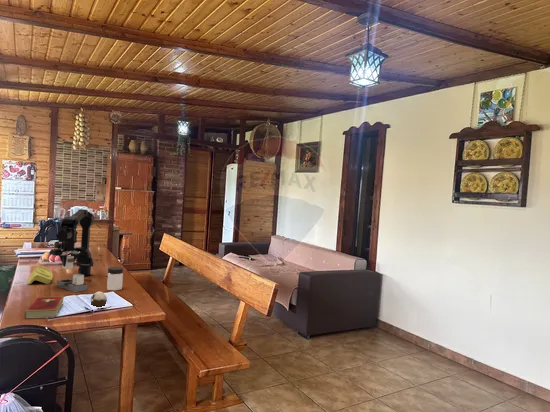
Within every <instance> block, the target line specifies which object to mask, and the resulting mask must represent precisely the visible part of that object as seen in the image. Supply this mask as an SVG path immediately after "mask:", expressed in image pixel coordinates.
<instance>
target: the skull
mask: <svg viewBox="0 0 550 412" xmlns="http://www.w3.org/2000/svg"><path fill="white" fill-rule="evenodd" d="M90 300H91V301H90V302H91V305H93V306H96V307H102V306H105V304H106V302H107V301H108V298H107V295H106V294H105V293H104V292H103V291H97V292H95V293H93V294H92V296H91V297H90ZM107 303H108V302H107Z"/></svg>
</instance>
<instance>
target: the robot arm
mask: <svg viewBox="0 0 550 412" xmlns="http://www.w3.org/2000/svg"><path fill="white" fill-rule="evenodd" d="M95 219H96V218H95V215H94V214H93V213H91V212H90V211H89V210H87V209H82V208H79V209H78V210H77V211H76V212H74V213H73V214H72V215H68V216H64V218H63V219H61V223H60V227H59V231H58V232H57V234H56V239H57V240H58V241H59V242H54V245H53V247H54V248H52V249H50V251H49V255H51V256H55V257H56V256H57V257H59V258H60V261H61V265H62V264H63V266H64V267H65V264H66V258H67V256H68V255H67V254H68V253H69V254H70V256H74V262H73V264H75V262H76V266H77V267H78V269H77V274H82V275H84V277H89V276H93V274H91V272H92V271H91V269H92V267H94V260H93V257H92V252H91V251H90V241H91V240H90V239H91V237H90V236H91V228H92V227H93V225H94V221H95ZM78 225H80V227H81V238H80V239H81V240H80V241H81V242H80V246H77V247H75V244H76V243H77V240H76V231H77V229H78Z"/></svg>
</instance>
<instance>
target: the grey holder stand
mask: <svg viewBox="0 0 550 412" xmlns="http://www.w3.org/2000/svg"><path fill="white" fill-rule="evenodd" d="M84 281H85V276H84V275H82V274H78V273H76V274H73V275H72V278H65V279H60V280H56V287H59V288H61V289H65V290H67V291H70V292H73V293H78V292H83V291H88V284H86V283H84Z"/></svg>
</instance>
